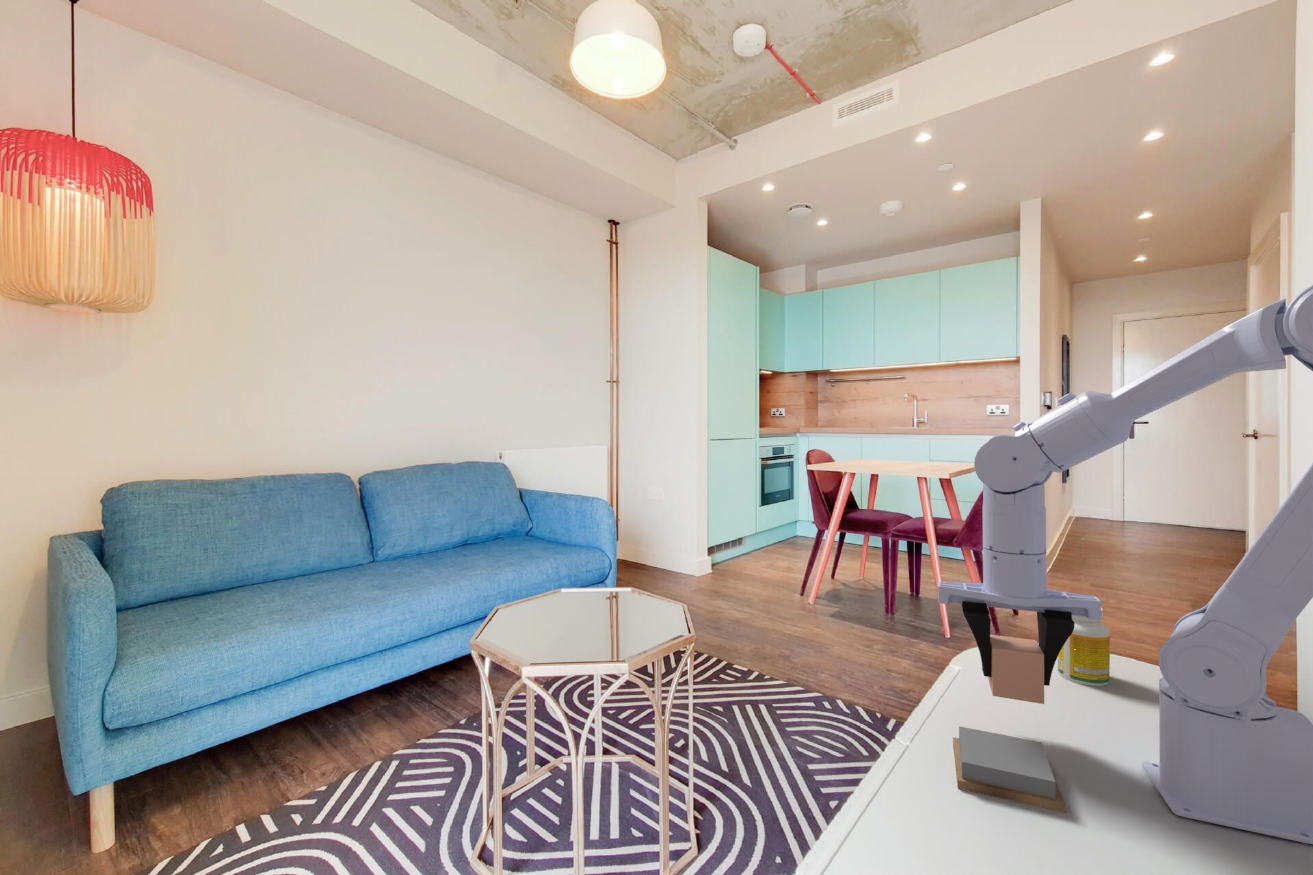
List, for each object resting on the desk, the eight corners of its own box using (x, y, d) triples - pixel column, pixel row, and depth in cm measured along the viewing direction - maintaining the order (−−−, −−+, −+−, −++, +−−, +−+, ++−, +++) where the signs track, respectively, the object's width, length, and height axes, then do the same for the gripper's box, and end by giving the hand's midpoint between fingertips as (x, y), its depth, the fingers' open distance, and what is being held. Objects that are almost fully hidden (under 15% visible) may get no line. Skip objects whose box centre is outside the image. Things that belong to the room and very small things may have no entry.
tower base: (1046, 770, 55) (1046, 755, 55) (1065, 821, 48) (1065, 803, 48) (953, 751, 58) (953, 737, 58) (957, 796, 51) (957, 780, 51)
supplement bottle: (1047, 673, 75) (1047, 601, 75) (1080, 669, 77) (1080, 598, 77) (1086, 691, 70) (1086, 613, 70) (1121, 687, 71) (1120, 610, 71)
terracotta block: (1036, 686, 61) (1035, 639, 61) (1044, 704, 57) (1043, 654, 57) (988, 679, 63) (987, 634, 63) (992, 695, 59) (992, 647, 59)
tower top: (1041, 757, 55) (1041, 741, 55) (1055, 799, 48) (1055, 781, 48) (959, 740, 58) (959, 726, 58) (962, 778, 51) (961, 761, 51)
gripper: (1087, 547, 61) (1088, 674, 61) (936, 538, 67) (937, 653, 67) (1107, 561, 54) (1108, 702, 54) (938, 549, 61) (939, 676, 61)
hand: (1014, 677), depth 60 cm, fingers closed on terracotta block, 4 cm apart
